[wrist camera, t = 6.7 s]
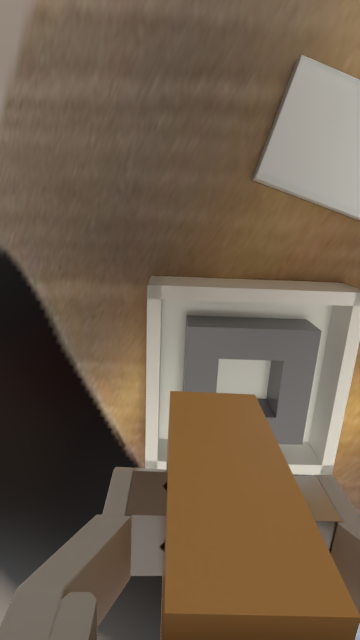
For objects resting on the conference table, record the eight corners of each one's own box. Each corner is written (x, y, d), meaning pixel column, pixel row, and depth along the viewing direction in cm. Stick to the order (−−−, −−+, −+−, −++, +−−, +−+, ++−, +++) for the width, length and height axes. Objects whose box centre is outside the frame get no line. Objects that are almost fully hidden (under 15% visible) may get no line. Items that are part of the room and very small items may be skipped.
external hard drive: (294, 62, 24) (445, 127, 25) (250, 180, 26) (391, 234, 27) (302, 52, 22) (463, 121, 24) (255, 178, 24) (404, 235, 26)
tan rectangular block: (170, 390, 12) (164, 612, 5) (254, 394, 12) (360, 617, 5) (166, 463, 13) (157, 736, 6) (245, 465, 13) (326, 738, 6)
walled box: (151, 275, 28) (147, 285, 24) (343, 282, 28) (369, 292, 24) (148, 440, 32) (145, 470, 28) (313, 444, 33) (331, 475, 29)
